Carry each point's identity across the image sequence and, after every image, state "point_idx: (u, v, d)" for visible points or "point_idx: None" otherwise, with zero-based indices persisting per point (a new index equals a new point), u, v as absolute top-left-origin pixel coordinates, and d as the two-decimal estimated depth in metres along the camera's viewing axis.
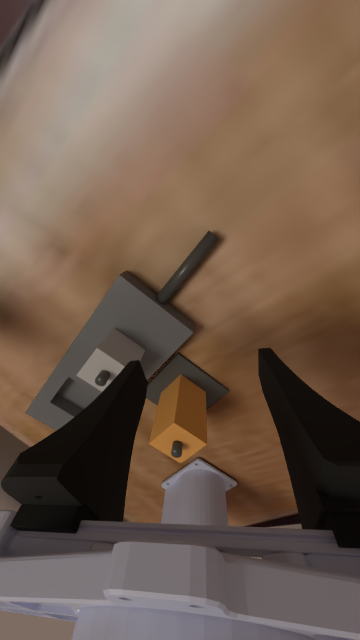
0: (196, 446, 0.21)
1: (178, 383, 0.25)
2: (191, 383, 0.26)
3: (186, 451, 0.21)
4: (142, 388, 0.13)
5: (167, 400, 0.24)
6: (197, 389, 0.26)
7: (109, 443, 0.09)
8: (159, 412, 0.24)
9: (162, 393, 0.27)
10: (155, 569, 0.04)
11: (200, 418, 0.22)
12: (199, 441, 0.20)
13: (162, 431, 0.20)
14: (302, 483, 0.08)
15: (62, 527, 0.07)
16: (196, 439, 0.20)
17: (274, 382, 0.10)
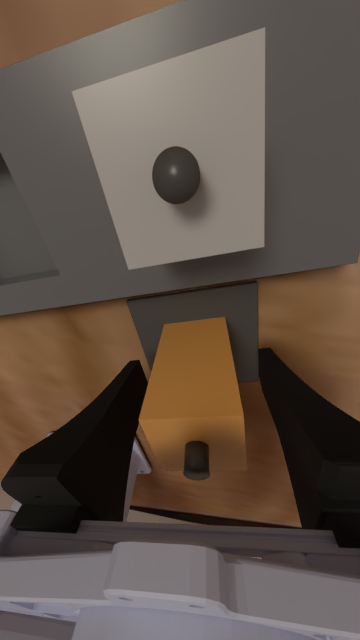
0: (225, 465, 0.10)
1: (225, 330, 0.12)
2: None
3: None
4: (142, 388, 0.13)
5: (192, 347, 0.12)
6: None
7: (109, 443, 0.09)
8: (166, 359, 0.11)
9: (169, 327, 0.14)
10: (155, 569, 0.04)
11: None
12: (241, 461, 0.09)
13: (196, 416, 0.08)
14: (302, 483, 0.08)
15: (62, 527, 0.07)
16: (241, 457, 0.09)
17: (274, 382, 0.10)
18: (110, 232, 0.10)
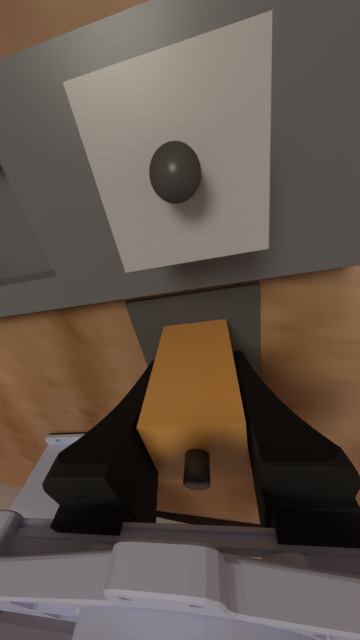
0: (226, 473, 0.09)
1: (226, 332, 0.12)
2: None
3: None
4: None
5: (192, 351, 0.11)
6: None
7: (143, 442, 0.09)
8: (166, 363, 0.11)
9: (169, 329, 0.14)
10: (155, 569, 0.04)
11: None
12: (243, 470, 0.09)
13: (196, 424, 0.08)
14: (257, 483, 0.08)
15: (62, 527, 0.07)
16: (242, 465, 0.09)
17: (239, 384, 0.10)
18: (107, 232, 0.10)
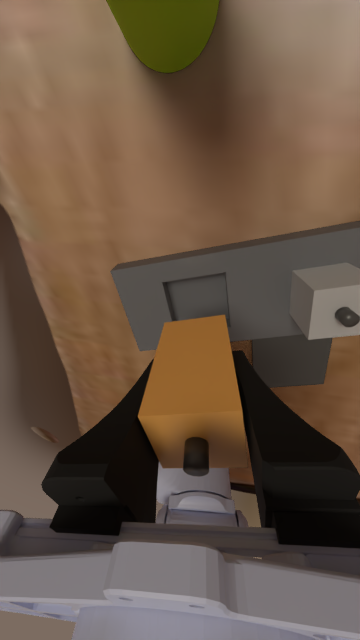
0: (225, 461, 0.10)
1: (225, 327, 0.12)
2: None
3: None
4: None
5: (192, 345, 0.12)
6: None
7: (142, 442, 0.09)
8: (166, 357, 0.11)
9: (169, 325, 0.14)
10: (155, 569, 0.04)
11: None
12: (241, 458, 0.09)
13: (194, 412, 0.08)
14: (257, 483, 0.08)
15: (62, 527, 0.07)
16: (241, 453, 0.09)
17: (239, 384, 0.10)
18: (267, 308, 0.19)
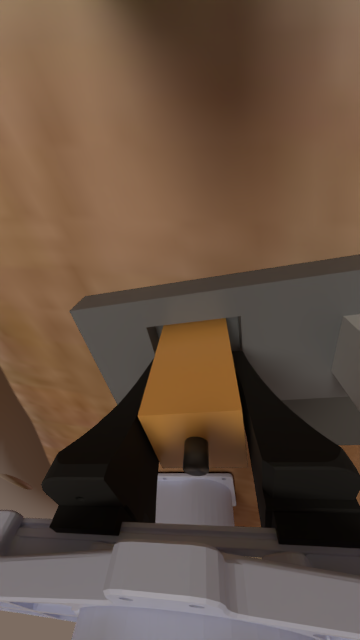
0: (225, 461, 0.10)
1: (224, 327, 0.12)
2: None
3: None
4: None
5: (192, 344, 0.12)
6: None
7: (142, 442, 0.09)
8: (166, 356, 0.11)
9: (169, 325, 0.14)
10: (155, 569, 0.04)
11: None
12: (241, 458, 0.09)
13: (194, 411, 0.08)
14: (257, 483, 0.08)
15: (62, 527, 0.07)
16: (240, 453, 0.09)
17: (239, 384, 0.10)
18: (300, 364, 0.13)
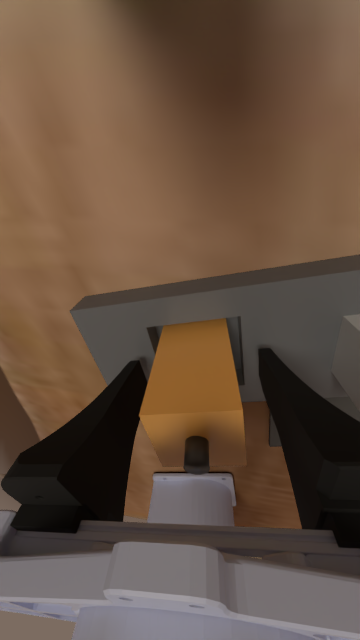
0: (225, 460, 0.10)
1: (225, 327, 0.13)
2: None
3: None
4: (142, 388, 0.13)
5: (192, 344, 0.12)
6: None
7: (109, 443, 0.09)
8: (166, 356, 0.11)
9: None
10: (155, 569, 0.04)
11: None
12: (241, 456, 0.10)
13: (196, 411, 0.08)
14: (302, 483, 0.08)
15: (62, 527, 0.07)
16: (240, 452, 0.09)
17: (274, 382, 0.10)
18: (300, 364, 0.13)
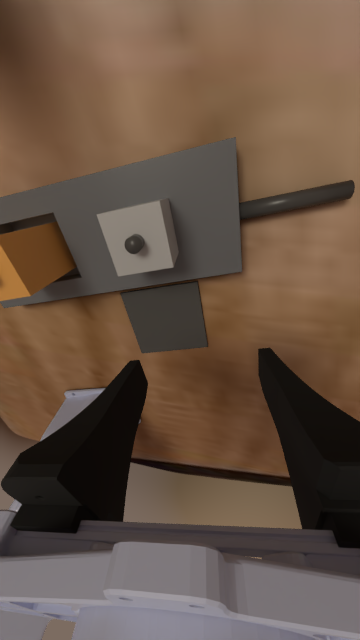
0: (15, 291, 0.15)
1: (48, 223, 0.18)
2: None
3: None
4: (142, 388, 0.13)
5: None
6: (69, 252, 0.20)
7: (109, 443, 0.09)
8: None
9: None
10: (155, 569, 0.04)
11: (45, 272, 0.17)
12: (22, 286, 0.15)
13: None
14: (302, 483, 0.08)
15: (62, 527, 0.07)
16: (19, 281, 0.15)
17: (274, 382, 0.10)
18: (110, 255, 0.19)
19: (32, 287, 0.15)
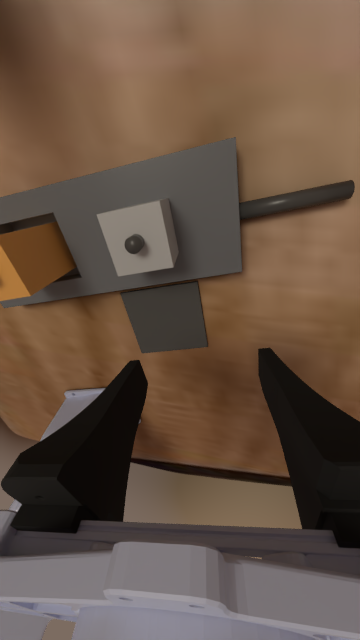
0: (15, 291, 0.15)
1: (48, 223, 0.18)
2: None
3: None
4: (142, 388, 0.13)
5: None
6: (69, 252, 0.20)
7: (109, 443, 0.09)
8: None
9: None
10: (155, 569, 0.04)
11: (45, 272, 0.17)
12: (22, 286, 0.15)
13: None
14: (302, 483, 0.08)
15: (62, 527, 0.07)
16: (19, 281, 0.15)
17: (274, 382, 0.10)
18: (110, 255, 0.19)
19: (32, 287, 0.15)
